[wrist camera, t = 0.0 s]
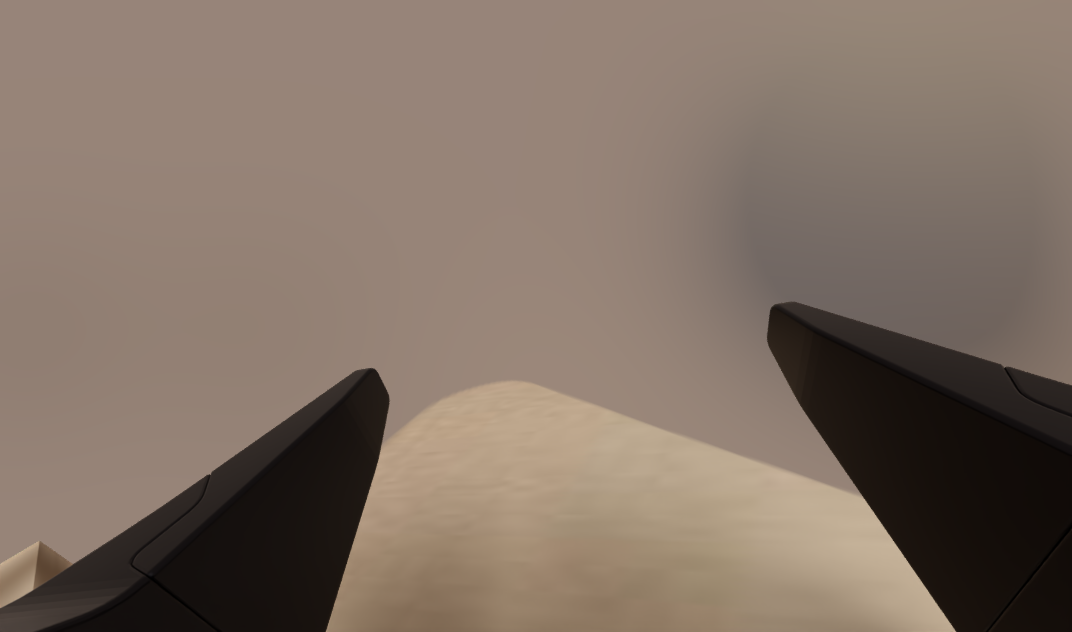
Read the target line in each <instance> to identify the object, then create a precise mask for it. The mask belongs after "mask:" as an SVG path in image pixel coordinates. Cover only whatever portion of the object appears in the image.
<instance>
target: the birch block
mask: <svg viewBox="0 0 1072 632" xmlns="http://www.w3.org/2000/svg"><path fill="white" fill-rule="evenodd" d="M71 565H73V564H72V563H70V562H69V561H67V560H66V559H65V558H63V557H62V556H60V555H59V554H57V553H56V552H55V551H53V550H52V549H51V548H49V547H48V546H46V545H45V544H43V543H42V542H41V541H38V542H37V543H35V544H33V545H32V546H30V547H28V548H26V549H25V550H23V551H21V552H20V553H18V554H16V555H15V556H13V557H11V558H10V559H8V560H6V561H4V562H3V563H1V564H0V608H1V607H3V606H5V605H7V604H9V603H11V602H13V601H15V600H17V599H19V598H21V597H22V596H24V595H26V594H27V593H29V592H31V591H32V590H34V589H35V588H37V587H39V586H40V585H42V584H43V583H45V582H46V581H48V580H50V579H51V578H53V577H54V576H56V575H57V574H59V573H60V572H62V571H63V570H65V569H67V568H68V567H70V566H71Z"/></svg>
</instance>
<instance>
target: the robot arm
mask: <svg viewBox="0 0 1072 632" xmlns="http://www.w3.org/2000/svg"><path fill="white" fill-rule="evenodd" d="M767 342H768V345H769V348H770V350H771V352H772V354H773V356H774V357H775V359H776V361H777V363H778V365H779V367H780V369H781V371H782V373H783V374H784V376H785V378H786V380H787V382H788V384H789V386H790V388H791V390H792V391H793V393H794V395H795V397H796V399H797V400H798V402H799V404H800V406H801V407H802V409H803V410H804V412H805V413H806V415H807V416H808V418H809V419H810V421H811V422H812V423H813V425H814V426H815V428H816V429H817V430H818V432H819V433H820V435H821V436H822V438H823V439H824V441H825V442H826V444H827V445H828V447H829V448H830V450H831V451H832V453H833V454H834V455H835V457H836V458H837V460H838V461H839V463H840V464H841V466H842V467H843V468H844V470H845V471H846V473H847V474H848V475H849V477H850V479H851V480H852V481H853V483H854V484H855V486H856V487H857V489H858V490H859V492H860V493H861V495H862V496H863V497H864V499H865V500H866V502H867V503H868V505H869V506H870V508H871V509H872V510H873V512H874V513H875V515H876V516H877V518H878V519H879V521H880V522H881V524H882V525H883V526H884V528H885V529H886V531H887V532H888V534H889V535H890V537H891V538H892V539H893V541H894V542H895V544H896V545H897V547H898V548H899V550H900V551H901V552H902V554H903V555H904V557H905V558H906V560H907V561H908V563H909V564H910V566H911V567H912V568H913V570H914V571H915V573H916V574H917V576H918V577H919V579H920V580H921V581H922V583H923V584H924V586H925V587H926V589H927V590H928V592H929V593H930V594H931V596H932V597H933V599H934V600H935V602H936V603H937V605H938V606H939V608H940V609H941V610H942V612H943V613H944V615H945V616H946V618H947V619H948V621H949V622H950V623H951V625H952V626H953V628H954V629H955V631H956V632H1072V385H1069V384H1065V383H1061V382H1058V381H1055V380H1051V379H1048V378H1044V377H1041V376H1038V375H1034V374H1031V373H1028V372H1024V371H1021V370H1018V369H1015V368H1011V367H1005V368H1004V367H1003V366H1002V365H1001V364H998V363H995V362H991V361H988V360H985V359H982V358H978V357H975V356H972V355H968V354H965V353H961V352H958V351H955V350H952V349H948V348H945V347H941V346H938V345H935V344H932V343H929V342H925V341H922V340H919V339H916V338H912V337H909V336H906V335H902V334H899V333H896V332H893V331H889V330H886V329H883V328H879V327H876V326H873V325H869V324H866V323H863V322H860V321H856V320H853V319H849V318H846V317H843V316H840V315H836V314H833V313H830V312H827V311H823V310H820V309H817V308H813V307H810V306H807V305H804V304H800V303H797V302H786V303H780V304H775V305H774V306H772V307H771V310H770V315H769V324H768V333H767ZM388 409H389V394H388V392H387V390H386V388H385V386H384V384H383V382H382V380H381V378H380V376H379V374H378V372H377V371H376V370H375V369H373V368H368V369H361V370H357V371H355V372H353V373H352V374H350V375H349V376H348V377H346V378H345V379H343V380H342V381H340V382H339V383H337V384H336V385H335V386H333V387H332V388H330V389H329V390H327V391H326V392H325V393H323V394H322V395H320V396H319V397H318V398H316V399H315V400H314V401H312V402H310V403H309V404H308V405H306V406H305V407H303V408H302V409H300V410H299V411H298V412H296V413H295V414H293V415H292V416H291V417H289V418H288V419H287V420H285V421H283V422H282V423H281V424H279V425H278V426H276V427H275V428H273V429H272V430H271V431H269V432H268V433H266V434H265V435H263V436H262V437H261V438H259V439H258V440H257V441H255V442H254V443H252V444H251V445H249V446H248V447H246V448H245V449H244V450H242V451H241V452H239V453H238V454H237V455H235V456H234V457H232V458H231V459H229V460H228V461H227V462H225V463H224V464H222V465H221V466H220V467H218V468H217V469H215V470H214V471H212V473H211V475H210V474H209V475H206V476H205V477H204V478H202V479H201V480H199V481H198V482H197V483H195V484H194V485H192V486H191V487H189V488H188V489H187V490H185V491H184V492H182V493H181V494H179V495H178V496H176V497H175V498H173V499H172V500H170V501H169V502H168V503H166V504H165V505H163V506H162V507H160V508H159V509H157V510H156V511H154V512H153V513H151V514H150V515H148V516H147V517H145V518H144V519H142V520H141V521H139V522H138V523H136V524H135V525H133V526H131V527H130V528H128V529H127V530H125V531H124V532H123V533H121V534H119V535H118V536H116V537H115V538H113V539H112V540H110V541H108V542H107V543H105V544H104V545H102V546H101V547H99V548H98V549H96V550H94V551H93V552H91V553H90V554H88V555H87V556H85V557H84V558H82V559H81V560H79V561H77V562H76V563H74V564H73V565H71V566H70V567H68V568H67V569H65V570H63V571H62V572H60V573H59V574H57V575H56V576H54V577H53V578H51V579H50V580H48V581H46V582H45V583H43V584H42V585H40V586H39V587H37V588H35V589H34V590H32V591H31V592H29V593H27V594H26V595H24V596H22V597H21V598H19V599H17V600H15V601H13V602H11V603H9V604H7V605H5V606H3V607H1V608H0V632H326V629H327V626H328V623H329V620H330V616H331V613H332V610H333V607H334V603H335V600H336V597H337V594H338V590H339V587H340V584H341V581H342V577H343V574H344V571H345V568H346V564H347V561H348V558H349V555H350V551H351V548H352V545H353V542H354V538H355V535H356V532H357V529H358V525H359V522H360V519H361V516H362V513H363V509H364V506H365V503H366V500H367V496H368V493H369V490H370V487H371V483H372V480H373V477H374V474H375V470H376V467H377V463H378V459H379V455H380V450H381V445H382V440H383V435H384V429H385V424H386V419H387V414H388Z"/></svg>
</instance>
